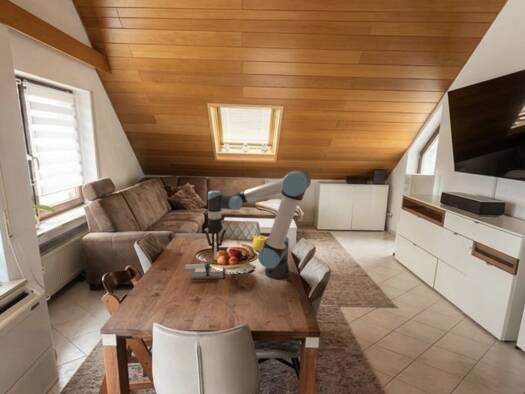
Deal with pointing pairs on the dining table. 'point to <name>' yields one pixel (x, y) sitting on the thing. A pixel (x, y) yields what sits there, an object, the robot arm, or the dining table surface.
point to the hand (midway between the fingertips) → (215, 256)
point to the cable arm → (197, 266)
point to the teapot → (258, 242)
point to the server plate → (206, 273)
